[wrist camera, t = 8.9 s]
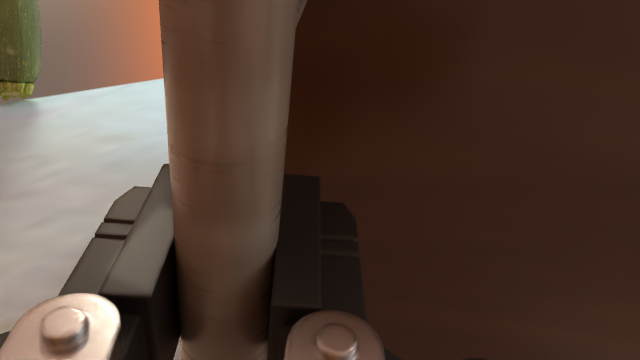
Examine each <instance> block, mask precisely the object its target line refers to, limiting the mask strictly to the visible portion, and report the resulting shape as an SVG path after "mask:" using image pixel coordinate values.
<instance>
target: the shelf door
mask: <svg viewBox="0 0 640 360" xmlns="http://www.w3.org/2000/svg"><path fill="white" fill-rule="evenodd" d="M159 10H160V26H161V39H162V40H161V42H162V57H163V71H164V88H165V104H166V120H167V135H168V151H169V166H170V182H171V197H172V213H173V228H174V244H175V260H176V275H177V291H178V306H179V322H180V337H181V353H182V360H267V351H268V336H269V321H270V307H271V297H272V287H273V278H274V268H275V259H276V249H277V242H278V236H279V224H280V212H281V202H282V192H283V183H284V174H296V175H308V176H320V201H325V202H338V203H344V204H345V205H346V206H347V208H348V209H349V211H350V212H351V213H352V215H353V216H354V217H355V219H356V224H357V233H358V242H359V252H360V255H359V257H360V261H361V270H362V279H363V288H364V298H365V307H366V316H367V321H368V324H370V325H371V326H372V327H373V328H374V330H375V331H376V332H377V333H378V335H379V337H380V338H381V341H382V343H383V346H384V347H385V348H386V349H387V350H388V351H390V352H391V353H392V354H394V355H395V356H397V357H399V358H401V359H403V360H462V359H466V358H485V359H489V360H640V0H159Z"/></svg>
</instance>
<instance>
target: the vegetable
mask: <svg viewBox="0 0 640 360" xmlns="http://www.w3.org/2000/svg"><path fill="white" fill-rule="evenodd" d="M40 24H41V23H40V13H39V6H38V1H37V0H0V95H2V97H3V99H4V100H7V99H9V98H10V97H15V98H16V97H22V98H26V97H27V96H31V94H32V91H33V88H34V82H35V81H36V80H37V78H38V76H39V74H40V54H41V25H40Z"/></svg>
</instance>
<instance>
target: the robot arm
mask: <svg viewBox="0 0 640 360" xmlns="http://www.w3.org/2000/svg"><path fill="white" fill-rule="evenodd" d="M359 255H360V252H359V242H358V233H357V224H356V219H355V217H354V216H353V215H352V213H351V212H350V211H349V209H348V208H347V206H346V205H345V204H344V203H338V202H325V201H320V176H308V175H296V174H284V183H283V192H282V202H281V212H280V224H279V236H278V242H277V249H276V259H275V268H274V278H273V287H272V297H271V307H270V321H269V336H268V351H267V360H403V359H401V358H399V357H397V356H395V355H394V354H392V353H391V352H390V351H388V350H387V349H386V348H385V347H384V346H383V343H382V341H381V338H380V337H379V335H378V333H377V332H376V331H375V330H374V328H373V327H372V326H371V325H370V324H368V321H367V316H366V307H365V298H364V288H363V279H362V270H361V261H360V257H359ZM179 338H180V322H179V306H178V291H177V275H176V260H175V244H174V228H173V213H172V197H171V182H170V166H169V164H164V165H163V166H162V168H161V170H160V172H159V174H158V176H157V178H156V180H155V182H154V184H153V186H152V188H149V187H136V186H135V187H133V188H132V189H130V190H129V191H128V192H126V193H125V194H123V195H122V196H121V197H119V198H118V199H116V200H115V201H114V203H113V204H112V206H111V208H110V209H109V211H108V213H107V215H106V216H105V218H104V222H102V223H101V225H100V226H99V228H98V230H97V231H96V233H95V238H92V240H91V241H90V243H89V245H88V246H87V248H86V250H85V251H84V253H83V255H82V256H81V258H80V260H79V261H78V263H77V265H76V266H75V268H74V270H73V271H72V273H71V275H70V276H69V278H68V280H67V281H66V283H65V285H64V287H63V288H62V290H61V292H60V293H59V295H58V296H57V297H55V298H52V299H49V300H47V301H45V302H43V303H41V304H39V305H37V306H35V307H34V308H32V309H31V310H29V311H28V312H27V313H26V314H25V315H23V316H22V317H21V318H20V319H19V321H18V322H17V323H16V324H15V326H14V327H13V329H12V330H11V331H9V332H6V333H3V334H0V360H173V358H174V355H175V351H176V348H177V344H178V341H179ZM462 360H489V359H485V358H466V359H462Z"/></svg>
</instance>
